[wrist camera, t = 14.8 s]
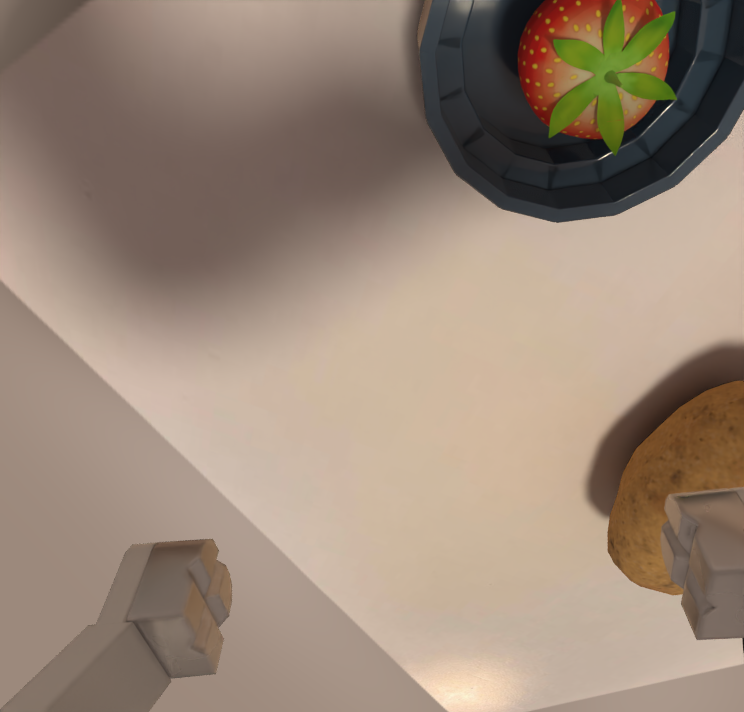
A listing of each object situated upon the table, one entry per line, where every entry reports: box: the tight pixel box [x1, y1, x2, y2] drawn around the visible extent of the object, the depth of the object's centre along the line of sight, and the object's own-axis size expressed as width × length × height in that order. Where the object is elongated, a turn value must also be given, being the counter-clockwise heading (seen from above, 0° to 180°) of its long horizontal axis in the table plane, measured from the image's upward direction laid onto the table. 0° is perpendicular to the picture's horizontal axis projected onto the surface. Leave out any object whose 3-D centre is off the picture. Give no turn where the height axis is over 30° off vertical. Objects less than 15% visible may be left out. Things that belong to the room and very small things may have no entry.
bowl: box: [417, 0, 744, 223], centre depth 25 cm, size 12×12×5 cm
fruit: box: [518, 0, 677, 156], centre depth 23 cm, size 5×5×8 cm
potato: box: [608, 381, 744, 595], centre depth 36 cm, size 9×16×9 cm, turn 159°
